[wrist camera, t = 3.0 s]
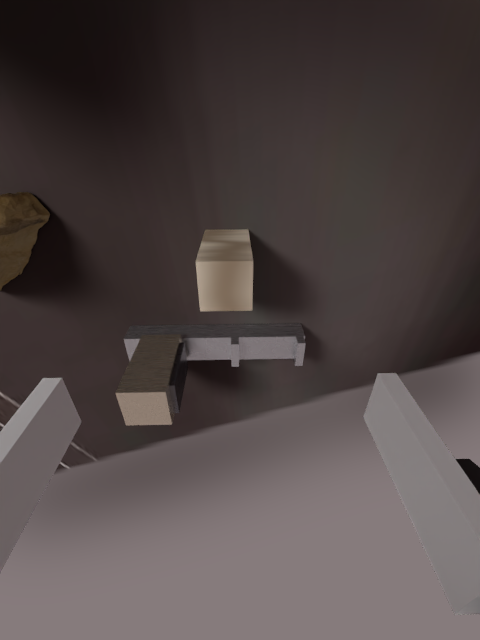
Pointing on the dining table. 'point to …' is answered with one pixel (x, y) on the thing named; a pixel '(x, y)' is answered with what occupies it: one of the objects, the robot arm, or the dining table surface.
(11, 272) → the rock
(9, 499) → the robot arm
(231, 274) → the block
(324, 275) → the dining table surface
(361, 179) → the dining table surface
